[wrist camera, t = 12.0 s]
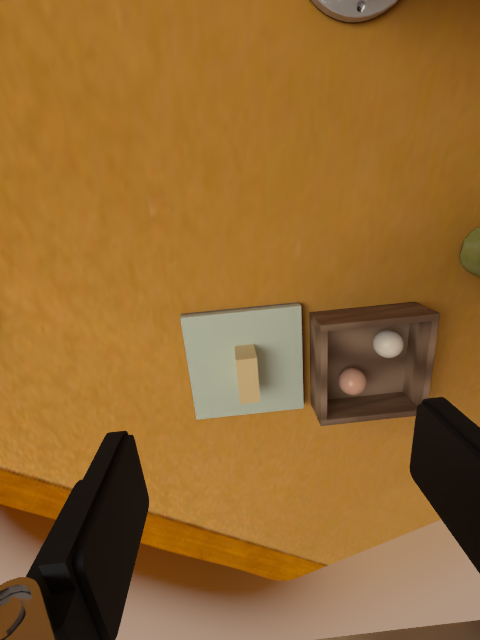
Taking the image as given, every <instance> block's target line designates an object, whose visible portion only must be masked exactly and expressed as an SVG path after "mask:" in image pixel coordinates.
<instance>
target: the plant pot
mask: <svg viewBox="0 0 480 640" xmlns="http://www.w3.org/2000/svg"><path fill="white" fill-rule="evenodd" d="M460 261H461V264H462V266H463V267H464V268H465V269H466V270H467V271H469V272H471V273H473V274H475V275H477V276H479V277H480V227H478V228H476V229H475V230H473V231H472V232H471V233H470V234H469V235H468V236H467V237H466V239H465V240H464V242H463V247H462V251H461V253H460Z"/></svg>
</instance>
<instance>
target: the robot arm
mask: <svg viewBox="0 0 480 640" xmlns="http://www.w3.org/2000/svg"><path fill="white" fill-rule="evenodd" d="M311 1H312V2H313V3H314V5H315V6H316V7H318V8H319V9H320V10H321V11H322V12H324V13H325V14H326V15H328V16H330V17H332V18H334V19H336V20H341V21H345V22H362V21H366V20H370V19H373V18H375V17H377V16H379V15H381V14H383V13H384V12H385V11H387V10H388V9H389V8H391V7H392V6H393V5H394V4H395V3H396V2H397V1H398V0H311ZM357 9H358V10H359V11H360V12H358V10H357ZM410 473H411V476H412V478H413V480H414V481H415V483H416V484H417V485H418V487H419V488H420V490H421V491H422V492H423V494H424V495H425V497H426V498H427V499H428V501H429V502H430V504H431V505H432V507H433V508H434V509H435V511H436V512H437V514H438V515H439V516H440V518H441V519H442V521H443V522H444V524H446V526H447V528H448V529H449V531H450V532H451V533H452V535H453V536H454V538H455V539H456V541H457V542H458V543H459V545H460V546H461V547H462V549H463V550H464V552H465V553H466V555H467V556H468V557H469V559H470V560H471V562H472V563H473V565H474V566H475V567H476V569H477V570H478V572H479V573H480V428H479V427H478V426H477V425H476V424H475V423H473V422H472V421H471V420H470V419H469V418H468V417H466V416H465V415H464V414H463V413H462V412H461V411H459V410H458V409H457V408H456V407H455V406H453V405H452V404H451V403H450V402H449V401H448V400H446V399H445V398H443V397H438V398H428V399H423V400H422V402H421V404H419V405H418V406H417V411H416V419H415V428H414V436H413V444H412V452H411V461H410ZM148 508H149V496H148V492H147V488H146V484H145V480H144V476H143V472H142V468H141V464H140V459H139V455H138V451H137V447H136V443H135V439H134V436H133V435H128V433H127V431H120V432H110V433H107V434H106V436H105V438H104V439H103V441H102V443H101V445H100V447H99V449H98V451H97V453H96V455H95V457H94V459H93V461H92V463H91V465H90V467H89V469H88V470H87V472H86V474H85V476H84V478H83V480H79V481H78V482H77V483H76V484H75V486H74V488H73V489H72V491H71V493H70V495H69V497H68V499H67V501H66V502H65V504H64V506H63V508H62V510H61V512H60V514H59V516H58V517H57V519H56V521H55V523H54V525H53V527H52V529H51V531H50V533H49V534H48V537H47V538H46V540H45V542H44V544H43V546H42V547H41V549H40V551H39V553H38V555H37V557H36V559H35V561H34V563H33V564H32V566H31V568H30V570H29V572H28V574H27V575H26V577H19V578H16V579H13V580H10V581H7V582H5V583H3V584H2V585H0V640H115V639H116V637H117V634H118V630H119V626H120V622H121V618H122V614H123V610H124V606H125V602H126V598H127V593H128V590H129V585H130V581H131V577H132V573H133V569H134V565H135V561H136V557H137V553H138V549H139V545H140V541H141V537H142V533H143V529H144V525H145V521H146V517H147V512H148ZM318 640H480V620H477V621H470V622H460V623H451V624H442V625H435V626H426V627H416V628H408V629H400V630H391V631H383V632H376V633H367V634H358V635H350V636H342V637H334V638H327V639H318Z"/></svg>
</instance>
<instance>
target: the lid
mask: <svg viewBox="0 0 480 640" xmlns="http://www.w3.org/2000/svg"><path fill="white" fill-rule="evenodd" d="M180 319H181V325H182V331H183V337H184V344H185V350H186V356H187V363H188V369H189V375H190V381H191V388H192V394H193V400H194V406H195V413H196V419H197V420H198V419H207V418H216V417H226V416H235V415H244V414H254V413H263V412H272V411H282V410H291V409H300V408H304V402H303V358H302V314H301V305H300V304H290V305H280V306H270V307H260V308H250V309H240V310H230V311H220V312H210V313H200V314H190V315H181V318H180Z"/></svg>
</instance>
